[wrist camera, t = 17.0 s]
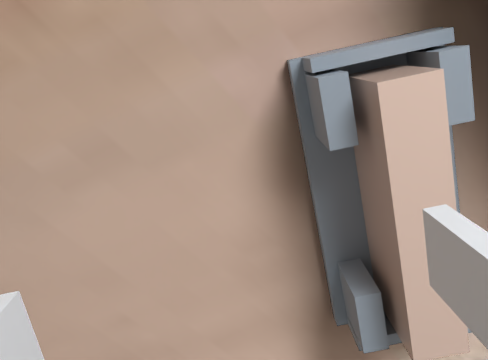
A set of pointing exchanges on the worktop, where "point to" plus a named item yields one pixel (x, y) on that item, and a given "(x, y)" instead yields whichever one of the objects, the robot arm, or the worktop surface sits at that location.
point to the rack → (344, 163)
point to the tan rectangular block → (406, 198)
